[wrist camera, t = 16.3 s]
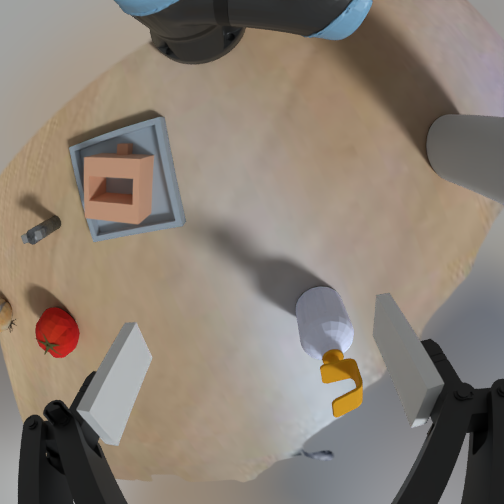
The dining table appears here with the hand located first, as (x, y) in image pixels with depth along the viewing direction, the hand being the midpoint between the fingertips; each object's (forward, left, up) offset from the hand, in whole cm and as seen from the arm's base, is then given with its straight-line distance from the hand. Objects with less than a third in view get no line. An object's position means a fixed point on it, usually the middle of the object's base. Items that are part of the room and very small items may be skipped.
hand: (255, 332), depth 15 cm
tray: (-6, -22, -35) cm, 42 cm away
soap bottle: (+23, +8, -35) cm, 43 cm away
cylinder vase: (-5, +36, -35) cm, 50 cm away
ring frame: (-6, -22, -34) cm, 41 cm away
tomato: (+22, -50, -35) cm, 65 cm away
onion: (+16, -74, -35) cm, 83 cm away
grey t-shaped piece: (-2, -41, -35) cm, 54 cm away
